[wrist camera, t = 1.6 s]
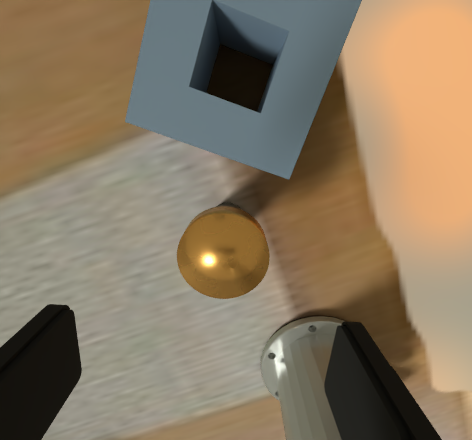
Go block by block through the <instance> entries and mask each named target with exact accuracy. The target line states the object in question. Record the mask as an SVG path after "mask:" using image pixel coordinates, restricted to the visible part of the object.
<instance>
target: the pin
mask: <svg viewBox="0 0 472 440" xmlns="http://www.w3.org/2000/svg"><path fill="white" fill-rule="evenodd" d="M177 262H178V266H179V269H180V272H181V274H182V276H183V277H184V279H185V280H186V282H187V283H188V284H189V285H190V286H191V287H193V288H194V289H195V290H197V291H198V292H200V293H202V294H204V295H206V296H209V297H213V298H220V299H228V298H235V297H239V296H241V295H244V294H246V293H248V292H250V291H251V290H253V289H254V288H255V287H256V286H257V285H258V284H259V283H260V282H261V281H262V279H263V278H264V276H265V274H266V272H267V269H268V265H269V249H268V245H267V241H266V238H265V234H264V232H263V229H262V228H261V226H260V224H259V223H258V222H257V220H256V219H255V218H254V217H252V216H251V215H250V214H248V213H247V212H245V211H243V210H241V208H240V207H239V206H237V205H236V204H233V203H222V204H220V205H218V206H217V207H214V208H210V209H208V210H205V211H203V212H201V213H200V214H199V215H197V216H196V217H195V218H194V219H193V220H192V221H191V222H190V224H189V225H188V227H187V229H186V231H185V232H184V234H183V236H182V238H181V240H180V242H179V245H178V250H177Z"/></svg>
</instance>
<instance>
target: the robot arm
mask: <svg viewBox="0 0 472 440" xmlns="http://www.w3.org/2000/svg"><path fill="white" fill-rule="evenodd" d="M81 371H82V368H81V361H80V353H79V346H78V339H77V331H76V324H75V316H74V312H73V310H70V308H69V306H67V305H54V304H50V305H47V306H46V307H45V308H43V309H42V310H41V311H40V312H39V313H38V314H37V315H36V316H35V317H34V318H32V319H31V320H30V321H29V322H28V323H27V324H26V325H25V326H24V327H23V328H21V329H20V330H19V331H18V332H17V333H16V334H15V335H14V336H13V337H12V338H10V339H9V340H8V341H7V342H6V343H5V344H4V345H3V346H2V347H0V440H41V439H42V438H43V436H44V434H45V433H46V431H47V430H48V428H49V427H50V425H51V423H52V422H53V420H54V419H55V417H56V416H57V414H58V412H59V411H60V409H61V408H62V406H63V405H64V403H65V401H66V400H67V398H68V397H69V395H70V394H71V392H72V390H73V389H74V387H75V386H76V384H77V383H78V381H79V379H80V376H81ZM261 373H262V378H263V381H264V384H265V386H266V388H267V389H268V391H269V392H270V393H271V394H272V395H273V396H274V397H275V398H276V399H278V400H279V401H280V406H281V412H282V418H283V424H284V430H285V437H286V440H442V439H441V438H440V436H439V435H438V433H437V432H436V430H435V429H434V428H433V426H432V425H431V423H430V422H429V420H428V419H427V417H426V416H425V414H424V413H423V411H422V410H421V408H420V407H419V405H418V404H417V402H416V401H415V399H414V398H413V397H412V395H411V394H410V392H409V391H408V389H407V388H406V386H405V385H404V383H403V382H402V380H401V379H400V377H399V376H398V374H397V373H396V371H395V370H394V369H393V368H392V367H391V366H390V365H389V363H388V362H387V360H386V359H385V357H384V356H383V354H382V353H381V351H380V350H379V348H378V347H377V345H376V344H375V342H374V341H373V339H372V338H371V336H370V335H369V333H368V332H367V330H366V329H365V327H364V326H363V325H362V324H361V323H360V322H346V321H344V320H340V319H337V318H333V317H326V316H315V317H308V318H303V319H299V320H297V321H294V322H291V323H289V324H288V325H286V326H284V327H282V328H281V329H280V330H278V331H277V332H276V333H275V334H274V335H273V336H272V337H271V338H270V340H269V341H268V342H267V344H266V346H265V348H264V350H263V353H262V356H261Z"/></svg>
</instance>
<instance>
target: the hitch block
mask: <svg viewBox="0 0 472 440" xmlns="http://www.w3.org/2000/svg"><path fill="white" fill-rule="evenodd" d="M361 1H362V0H151V1H150V6H149V10H148V15H147V20H146V25H145V29H144V34H143V39H142V44H141V48H140V53H139V58H138V63H137V68H136V72H135V77H134V82H133V87H132V91H131V96H130V101H129V106H128V110H127V115H126V120H125V122H127V123H130V124H133V125H136V126H139V127H141V128H144V129H147V130H150V131H153V132H156V133H158V134H161V135H164V136H167V137H170V138H173V139H175V140H178V141H181V142H184V143H187V144H190V145H192V146H195V147H198V148H201V149H204V150H206V151H209V152H212V153H215V154H218V155H221V156H223V157H226V158H229V159H232V160H235V161H238V162H240V163H243V164H246V165H249V166H252V167H254V168H257V169H260V170H263V171H266V172H269V173H271V174H274V175H277V176H280V177H283V178H286V179H288V180H289V179H290V176H291V174H292V171H293V169H294V166H295V164H296V161H297V159H298V157H299V154H300V152H301V149H302V147H303V144H304V142H305V139H306V137H307V134H308V132H309V129H310V127H311V124H312V122H313V119H314V117H315V115H316V112H317V110H318V107H319V105H320V102H321V100H322V97H323V95H324V92H325V90H326V87H327V85H328V82H329V80H330V78H331V75H332V73H333V70H334V68H335V65H336V63H337V60H338V58H339V55H340V53H341V50H342V48H343V45H344V43H345V40H346V38H347V36H348V33H349V31H350V28H351V26H352V23H353V21H354V18H355V16H356V13H357V11H358V8H359V6H360V3H361ZM220 44H221V45H224V46H226V47H229V48H231V49H234V50H237V51H239V52H242V53H244V54H247V55H249V56H252V57H254V58H257V59H259V60H262V61H264V62H267V63H269V64H272V65H273V67H272V70H271V72H270V75H269V78H268V81H267V84H266V87H265V90H264V93H263V96H262V99H261V102H260V104H259V107H258V110H257V112H255V111H253V110H250V109H247V108H245V107H242V106H239V105H237V104H234V103H231V102H229V101H226V100H223V99H221V98H218V97H215V96H213V95H210V94H207V93H206V92H207V88H208V85H209V81H210V78H211V74H212V71H213V67H214V64H215V60H216V57H217V53H218V50H219V46H220Z"/></svg>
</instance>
